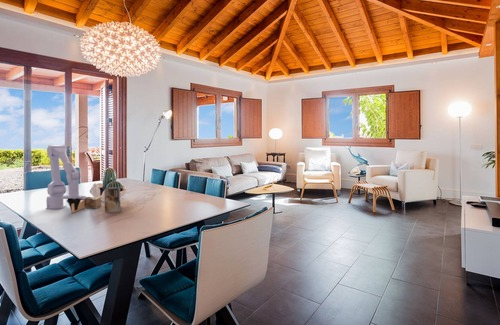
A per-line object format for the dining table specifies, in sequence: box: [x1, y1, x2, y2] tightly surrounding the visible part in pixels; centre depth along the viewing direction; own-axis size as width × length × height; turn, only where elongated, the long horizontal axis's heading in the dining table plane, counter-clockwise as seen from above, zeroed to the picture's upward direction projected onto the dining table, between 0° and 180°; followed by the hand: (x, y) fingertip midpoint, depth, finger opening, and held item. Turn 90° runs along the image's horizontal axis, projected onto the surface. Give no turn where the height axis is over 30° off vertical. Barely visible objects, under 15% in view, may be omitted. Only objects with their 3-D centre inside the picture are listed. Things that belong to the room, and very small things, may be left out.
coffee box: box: [103, 186, 122, 214], centre depth 194 cm, size 9×6×16 cm
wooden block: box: [81, 196, 102, 209], centre depth 206 cm, size 16×8×7 cm, turn 91°
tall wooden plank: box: [71, 200, 86, 213], centre depth 195 cm, size 2×12×6 cm, turn 1°
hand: (74, 209), depth 190 cm, fingers closed on tall wooden plank, 2 cm apart
